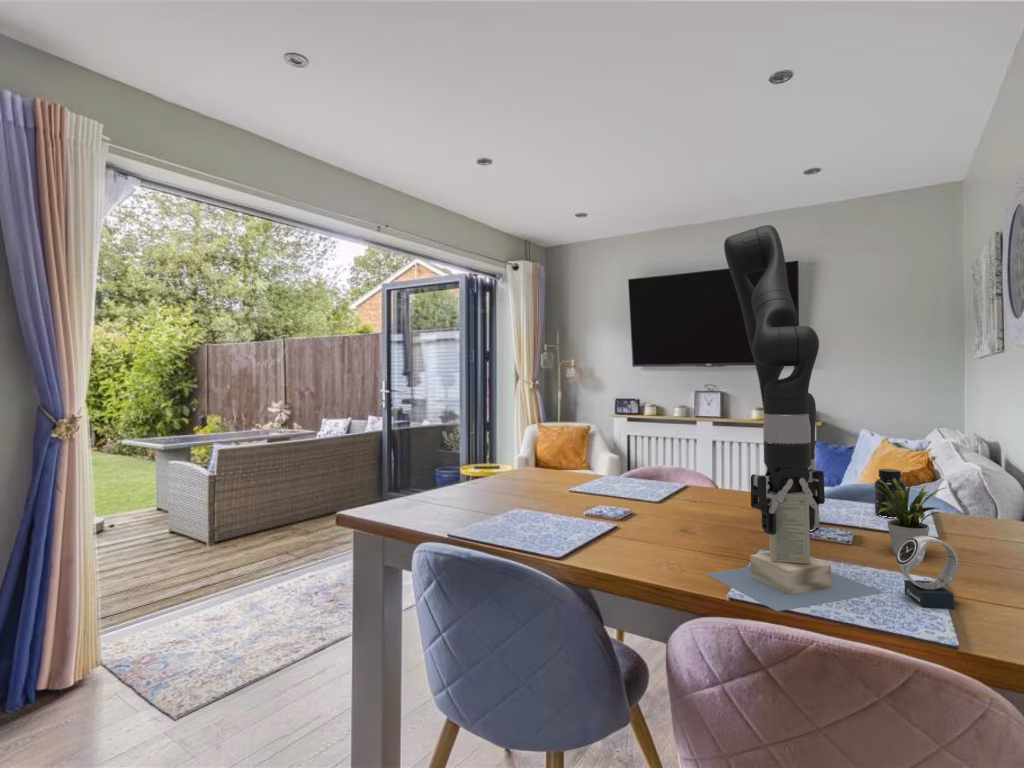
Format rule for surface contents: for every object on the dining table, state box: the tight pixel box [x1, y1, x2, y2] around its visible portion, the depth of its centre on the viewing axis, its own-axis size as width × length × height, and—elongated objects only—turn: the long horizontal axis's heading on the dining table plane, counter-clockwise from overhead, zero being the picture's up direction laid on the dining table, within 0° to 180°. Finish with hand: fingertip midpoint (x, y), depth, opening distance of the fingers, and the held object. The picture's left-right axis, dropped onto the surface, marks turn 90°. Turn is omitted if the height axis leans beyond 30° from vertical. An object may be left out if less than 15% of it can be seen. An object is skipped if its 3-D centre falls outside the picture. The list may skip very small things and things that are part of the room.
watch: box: [895, 535, 960, 610], centre depth 88 cm, size 6×8×11 cm
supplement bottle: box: [873, 468, 907, 517], centre depth 144 cm, size 7×7×12 cm
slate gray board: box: [705, 566, 885, 612], centre depth 98 cm, size 22×18×1 cm
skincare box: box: [768, 491, 811, 564], centre depth 98 cm, size 6×4×12 cm
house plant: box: [869, 477, 950, 555], centre depth 114 cm, size 14×14×16 cm
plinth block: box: [749, 551, 832, 595], centre depth 98 cm, size 9×9×4 cm
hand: (788, 530), depth 98 cm, fingers open, 7 cm apart
